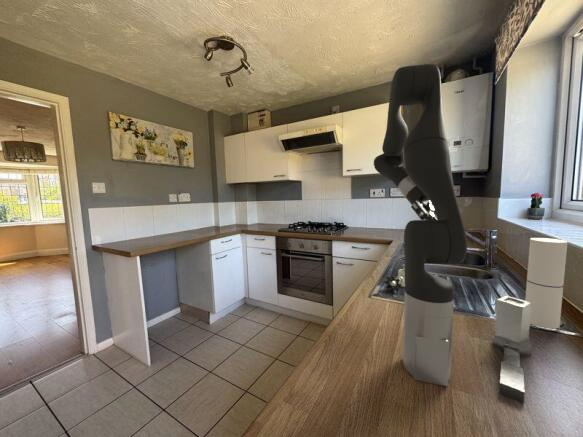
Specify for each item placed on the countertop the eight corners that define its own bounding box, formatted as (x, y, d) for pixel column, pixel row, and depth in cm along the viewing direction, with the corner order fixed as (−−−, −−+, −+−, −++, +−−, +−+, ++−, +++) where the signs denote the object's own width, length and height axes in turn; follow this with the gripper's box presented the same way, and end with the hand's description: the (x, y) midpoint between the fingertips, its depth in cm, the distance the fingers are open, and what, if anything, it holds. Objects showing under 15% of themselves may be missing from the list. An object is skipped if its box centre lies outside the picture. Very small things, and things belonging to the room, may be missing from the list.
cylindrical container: (522, 323, 70) (528, 240, 67) (525, 315, 74) (531, 236, 72) (558, 334, 64) (567, 243, 62) (559, 324, 69) (567, 240, 66)
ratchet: (493, 335, 64) (494, 316, 64) (530, 346, 59) (531, 325, 59) (487, 388, 47) (488, 362, 46) (537, 409, 42) (540, 380, 42)
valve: (397, 282, 104) (384, 289, 96) (397, 267, 104) (384, 274, 96) (412, 286, 100) (400, 294, 92) (413, 270, 99) (400, 278, 91)
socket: (528, 339, 58) (531, 302, 57) (519, 345, 56) (522, 307, 55) (503, 330, 62) (506, 295, 61) (495, 335, 60) (497, 299, 59)
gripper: (408, 182, 75) (444, 220, 66) (435, 182, 82) (471, 218, 73) (394, 199, 81) (425, 236, 72) (421, 198, 87) (452, 232, 78)
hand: (448, 227), depth 72 cm, fingers open, 8 cm apart
